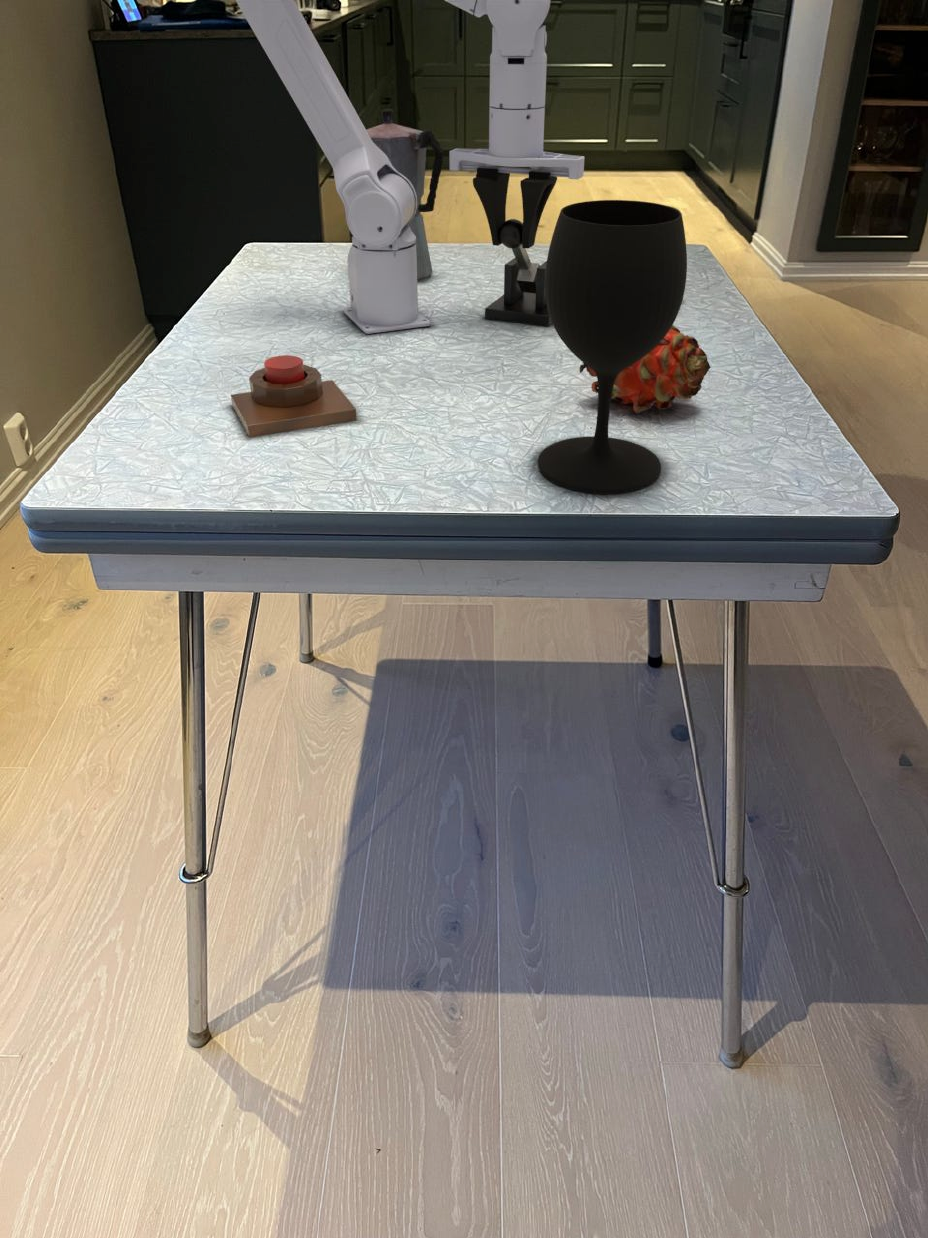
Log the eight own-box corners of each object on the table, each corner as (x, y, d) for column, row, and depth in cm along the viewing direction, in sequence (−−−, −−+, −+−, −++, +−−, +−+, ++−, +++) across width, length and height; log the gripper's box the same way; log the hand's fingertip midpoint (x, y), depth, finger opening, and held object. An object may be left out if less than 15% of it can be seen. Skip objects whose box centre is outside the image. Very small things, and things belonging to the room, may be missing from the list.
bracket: (548, 326, 110) (550, 275, 106) (484, 318, 112) (485, 268, 109) (571, 305, 116) (574, 256, 113) (511, 297, 119) (512, 249, 116)
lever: (518, 239, 101) (526, 214, 102) (493, 236, 102) (500, 211, 103) (541, 296, 113) (547, 273, 113) (517, 294, 114) (524, 271, 114)
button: (270, 388, 87) (268, 370, 86) (262, 375, 89) (260, 357, 88) (309, 383, 88) (307, 365, 87) (299, 370, 91) (297, 352, 90)
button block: (249, 438, 84) (244, 406, 82) (229, 401, 91) (225, 371, 89) (357, 421, 87) (354, 390, 85) (330, 387, 94) (327, 357, 92)
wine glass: (516, 452, 81) (523, 204, 70) (620, 432, 85) (643, 192, 73) (574, 504, 73) (593, 234, 62) (686, 480, 77) (724, 220, 65)
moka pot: (381, 260, 134) (373, 101, 123) (469, 277, 127) (469, 109, 116) (336, 274, 128) (323, 108, 117) (425, 293, 121) (421, 118, 109)
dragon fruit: (711, 429, 89) (584, 436, 92) (710, 353, 92) (587, 362, 95) (711, 378, 81) (573, 388, 84) (710, 296, 84) (576, 308, 87)
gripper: (596, 104, 97) (587, 242, 105) (467, 98, 102) (467, 231, 110) (575, 112, 92) (567, 257, 100) (440, 106, 97) (442, 244, 105)
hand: (513, 244), depth 105 cm, fingers closed on lever, 3 cm apart
